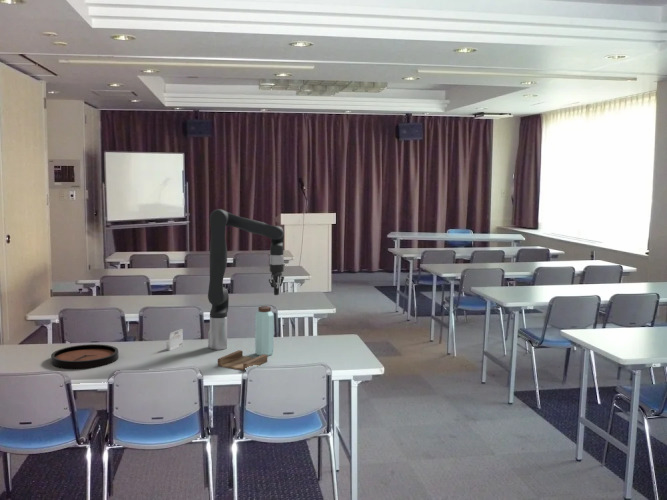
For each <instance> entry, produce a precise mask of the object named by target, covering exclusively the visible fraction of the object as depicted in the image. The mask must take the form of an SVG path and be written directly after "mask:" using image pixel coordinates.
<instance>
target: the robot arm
mask: <svg viewBox="0 0 667 500" xmlns="http://www.w3.org/2000/svg"><path fill="white" fill-rule="evenodd" d="M209 225H210V226H209V227H210V243H209V244H210V245H209V283H208V291H207V300H208V301H209V304H211V309H210V311H209V330H208V332H207V333H208V336H207V337H208V338H207V339H208V341H207V344H208V345H207V348H208V349H211V350H218V351H219V350H225V349H227V348H228V311H229V299H230V297H229V296H230V295H229V292H228V290H227V288H226V287H224V277H225V273H226V270H227V267H228V266H227V263H228V247H227V242H226V228H227V227H234V228H237V229H239V230H242V231H245V232H248V233H250V234H254V235H259V236H264V237H267V238H268V239H270V242H271V243H270V249H269V255H270V256H269V272H270V273H271V275H270V276H271V277H270V278H269V279H268V283H269V284H270V287H271V288H273V295H274V296H278V295H280V287H282V285H283V283H284V280H285V276H283V272H284V271H285V270H284V267H285V266H284V265H285V261H284V257H285V256H284V237H285V231H284V229H283V227H282V226H280V225H271V224H268V223H266V222H263V221H259V220H255V219H250V218H247V217H243V216H239V215H236V214H233V213H231V212H229V211H226V210H224V209H222V208H217V209H215V210H213V211H212V212H211V213H210V216H209Z"/></svg>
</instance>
